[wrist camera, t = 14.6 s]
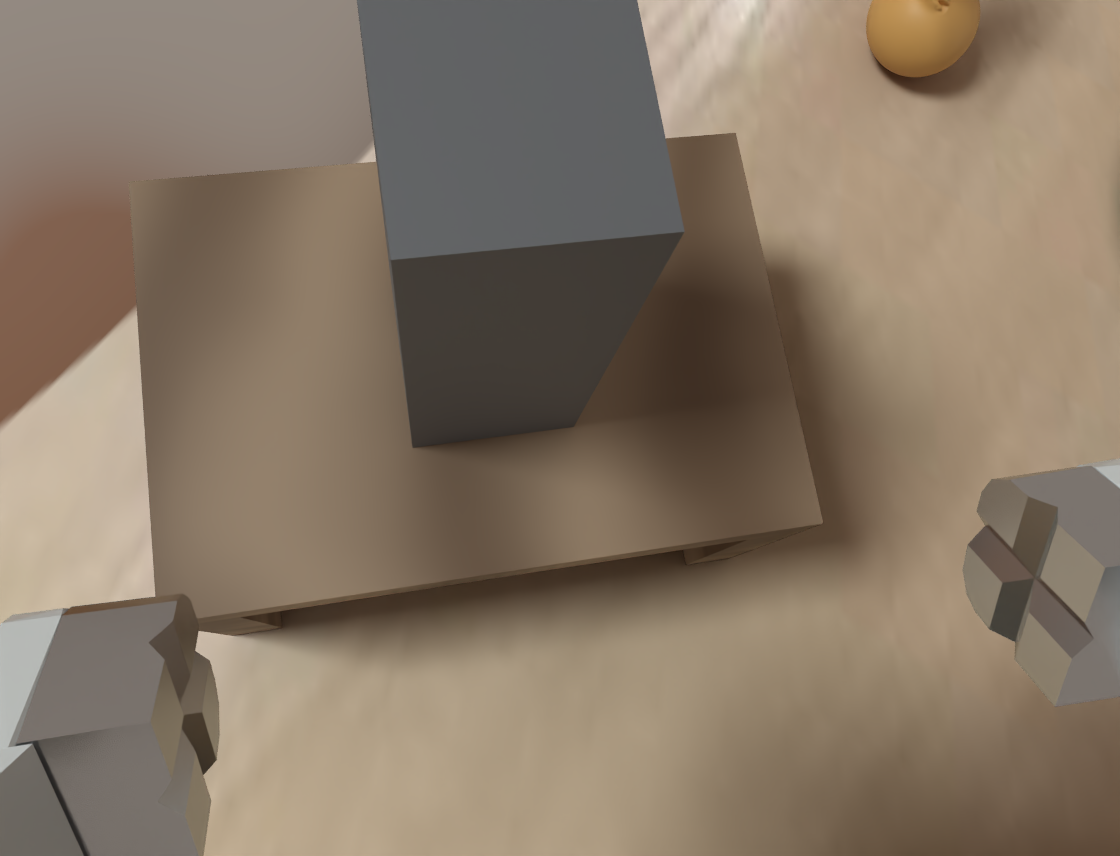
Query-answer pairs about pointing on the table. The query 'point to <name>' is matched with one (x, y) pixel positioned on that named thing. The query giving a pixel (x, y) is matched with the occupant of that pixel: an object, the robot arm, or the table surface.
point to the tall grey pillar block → (515, 202)
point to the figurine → (921, 33)
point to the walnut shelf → (382, 416)
